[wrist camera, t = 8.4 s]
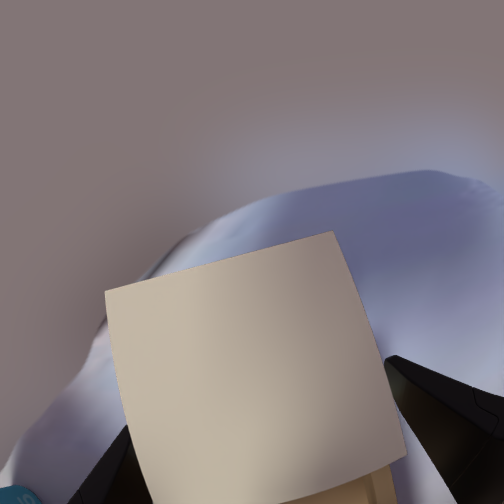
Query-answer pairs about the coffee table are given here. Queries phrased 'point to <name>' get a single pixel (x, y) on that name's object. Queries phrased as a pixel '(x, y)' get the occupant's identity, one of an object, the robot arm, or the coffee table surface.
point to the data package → (17, 495)
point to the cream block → (252, 377)
